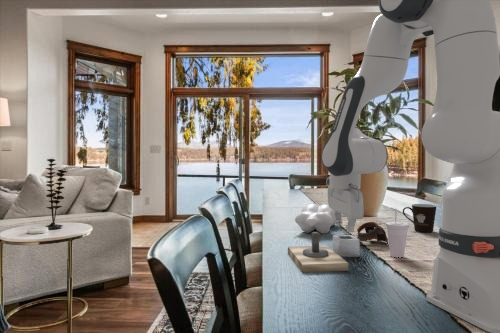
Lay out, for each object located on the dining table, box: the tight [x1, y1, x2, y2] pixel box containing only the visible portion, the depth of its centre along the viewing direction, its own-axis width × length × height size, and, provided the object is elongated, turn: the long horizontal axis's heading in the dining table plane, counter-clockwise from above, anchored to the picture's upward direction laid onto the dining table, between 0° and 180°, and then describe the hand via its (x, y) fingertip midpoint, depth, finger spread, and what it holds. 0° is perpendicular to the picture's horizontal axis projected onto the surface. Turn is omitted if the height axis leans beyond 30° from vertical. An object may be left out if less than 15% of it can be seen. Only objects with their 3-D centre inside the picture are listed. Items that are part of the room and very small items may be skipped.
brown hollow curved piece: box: [356, 221, 389, 245], centre depth 124 cm, size 12×10×8 cm
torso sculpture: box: [294, 203, 336, 234], centre depth 144 cm, size 16×11×30 cm
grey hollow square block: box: [332, 234, 361, 258], centre depth 110 cm, size 6×6×5 cm
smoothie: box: [385, 208, 410, 259], centre depth 107 cm, size 6×6×14 cm
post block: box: [287, 231, 349, 273], centre depth 102 cm, size 18×12×8 cm, turn 6°
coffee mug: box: [402, 203, 438, 234], centre depth 143 cm, size 12×9×10 cm
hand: (344, 228), depth 110 cm, fingers open, 8 cm apart
